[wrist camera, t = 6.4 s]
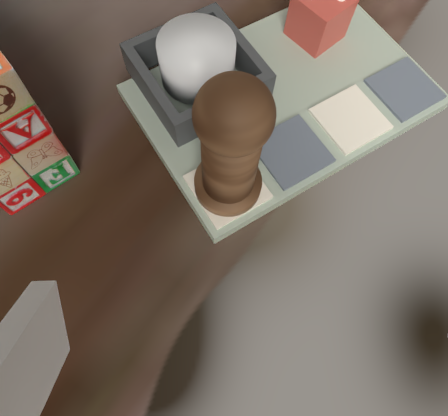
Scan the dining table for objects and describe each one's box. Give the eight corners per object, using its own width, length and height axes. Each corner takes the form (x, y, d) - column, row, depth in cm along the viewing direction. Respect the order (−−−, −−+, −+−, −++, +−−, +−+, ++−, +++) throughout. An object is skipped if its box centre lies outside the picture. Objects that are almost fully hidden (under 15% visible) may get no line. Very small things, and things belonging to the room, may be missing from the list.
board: (114, 86, 35) (101, 51, 31) (328, -11, 40) (341, -52, 36) (214, 244, 30) (214, 225, 26) (445, 108, 35) (474, 75, 31)
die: (283, 32, 36) (292, -10, 32) (313, 12, 37) (325, -32, 33) (314, 58, 35) (328, 18, 31) (344, 36, 36) (361, -6, 32)
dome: (148, 64, 33) (141, 31, 30) (210, 37, 34) (209, 2, 31) (184, 116, 31) (180, 87, 28) (248, 85, 32) (251, 53, 29)
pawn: (182, 175, 30) (167, 72, 20) (237, 146, 31) (251, 34, 21) (216, 228, 29) (219, 148, 18) (273, 196, 30) (307, 102, 19)
